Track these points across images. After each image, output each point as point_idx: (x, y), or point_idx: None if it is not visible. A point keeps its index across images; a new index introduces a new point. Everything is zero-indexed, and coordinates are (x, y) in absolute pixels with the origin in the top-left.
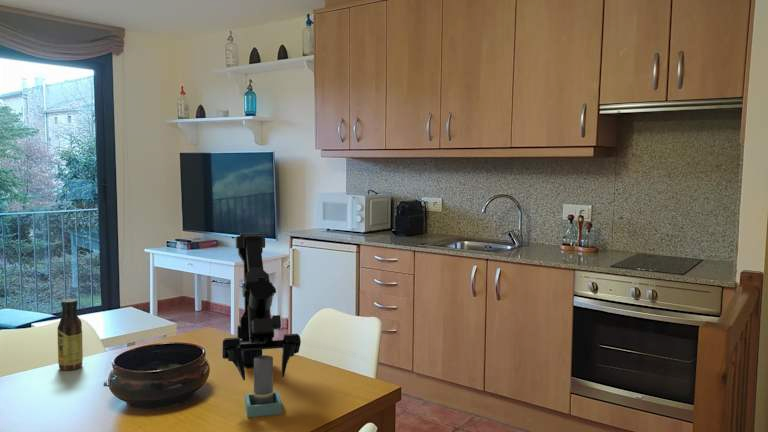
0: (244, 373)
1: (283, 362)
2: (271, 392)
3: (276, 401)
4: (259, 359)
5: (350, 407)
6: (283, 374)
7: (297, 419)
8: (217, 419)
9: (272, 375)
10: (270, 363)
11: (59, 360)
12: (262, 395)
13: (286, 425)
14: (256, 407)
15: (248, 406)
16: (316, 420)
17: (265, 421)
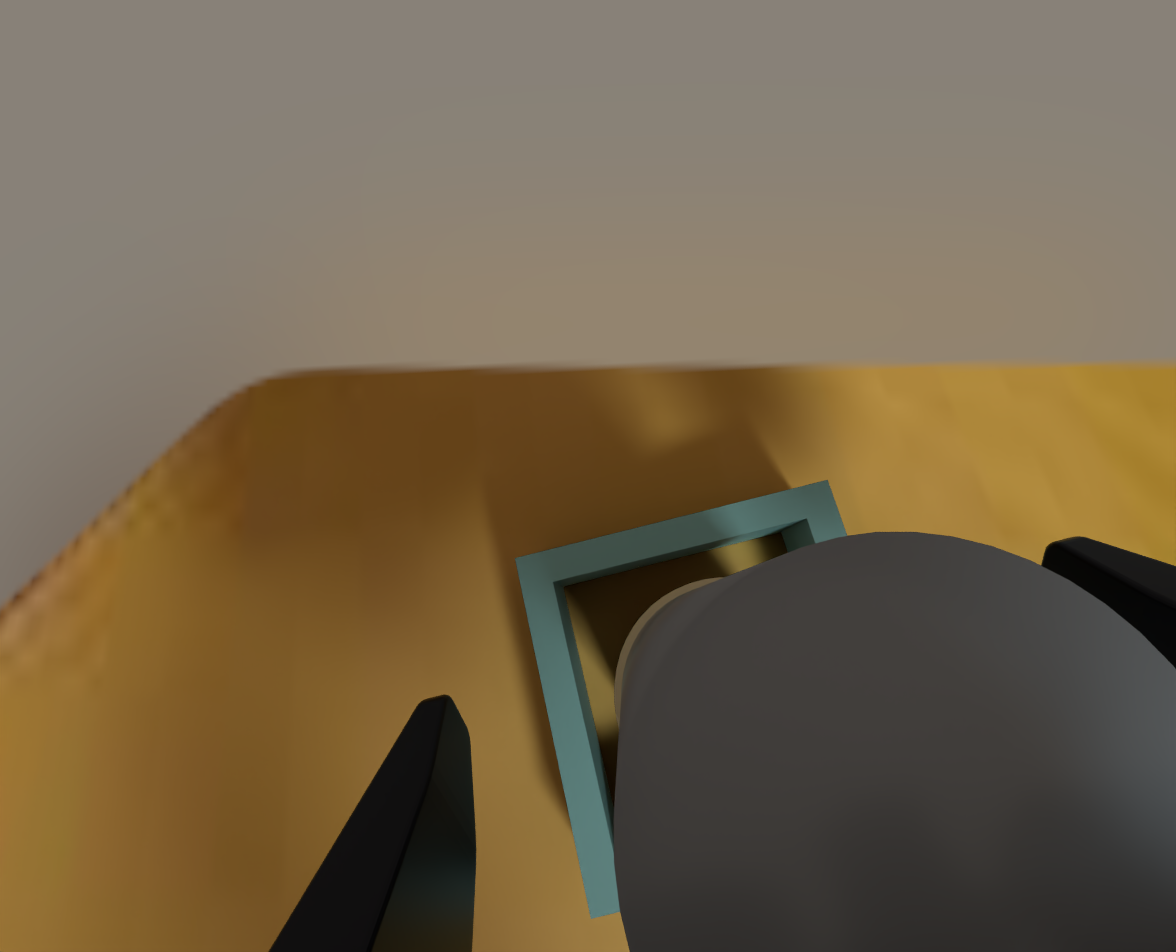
0: (1133, 579)
1: (359, 916)
2: (629, 651)
3: (594, 743)
4: (1029, 725)
5: None
6: (432, 700)
7: (409, 464)
8: (1030, 467)
9: (620, 710)
10: (655, 655)
11: None
12: (717, 579)
13: (483, 367)
14: (743, 501)
15: (819, 491)
16: (273, 447)
17: (642, 431)
